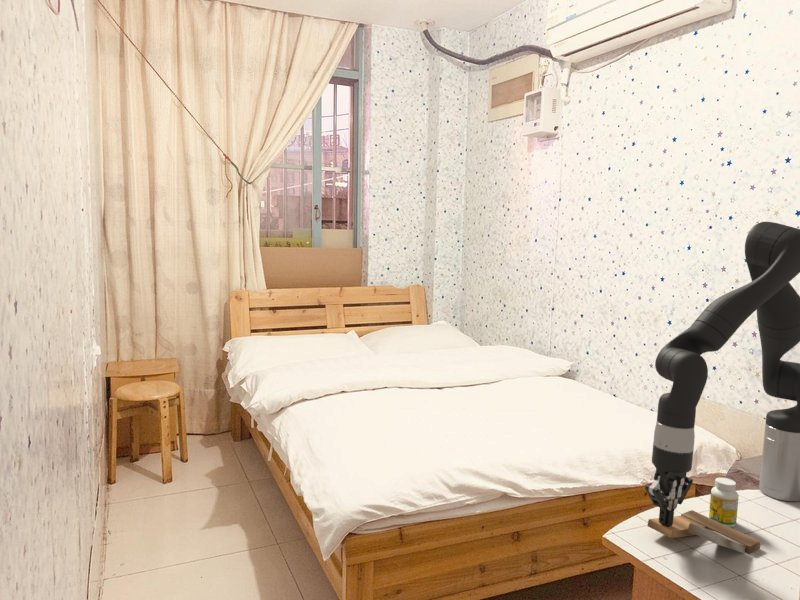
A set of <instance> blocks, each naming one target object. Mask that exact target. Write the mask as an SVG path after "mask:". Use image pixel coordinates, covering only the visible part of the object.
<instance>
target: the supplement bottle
mask: <svg viewBox="0 0 800 600" xmlns="http://www.w3.org/2000/svg"><path fill="white" fill-rule="evenodd" d="M736 488H737V482H736V481H734V480H733V479H731V478H728V477H716V478H715V480H714V486H713V487H712V488H711V491H710V500H709V509H708V510H709V512H708V518H710V519H713V520H715V521H717V522H719V523H721V524H724V525H726V526H728V527H730V528H734V527H735V526H737V525H736V524H737V517H738V507H739V494H738V492H737V491H736Z"/></svg>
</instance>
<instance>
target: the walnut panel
mask: <svg viewBox="0 0 800 600" xmlns="http://www.w3.org/2000/svg"><path fill="white" fill-rule="evenodd" d="M680 516H684V517H687V518H689V519H691V520H693V521H695V522H697V523H699V524H701V525H703V526H706V529H709V530H712V531H715V532H718V533H720V534H723V535H725V536H727V537H729V538H731V539H733V540H735V541H737V542H739V543H742V544H744V545H746V548H745V551H744V553H746V554H748V555H750V554H752V553H754V552H755V551H758V550H760V549H761V540H759V539H756V538H755V537H752V536H750V535H747V534H745V533H743V532H741V531H738V530H736V529H734V528H733V527H728V526H726V525H724V524H721V523H719V522H717V521H715V520H713V519H710V518H709V516H706V515H705V514H701V513H699V512H697V511H695V510H692V509H691V510H688V511H685V512H684V513H681V514H680Z"/></svg>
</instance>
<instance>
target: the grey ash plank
mask: <svg viewBox="0 0 800 600" xmlns="http://www.w3.org/2000/svg"><path fill="white" fill-rule="evenodd" d="M688 531H690V532H692V533H694V534H696V535H695V536H698V537H700V538H703V539H705V540H706V541H709V542H711V543H713V544H715V545H718V546H722V547H724V548H728V549H731V550H734V551H736V552H740V553H742V554H744V553H745V552H744V551H745V548H746V545H744V544H742V543H739V542H737V541H735V540H733V539H731V538H729V537H727V536H725V535H723V534H720V533H718V532H715V531H712V530H709V529H706V528H703V527H700V526H697V525H695V524H692V523H690V524H689V527H688Z"/></svg>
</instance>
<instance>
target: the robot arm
mask: <svg viewBox="0 0 800 600" xmlns="http://www.w3.org/2000/svg"><path fill="white" fill-rule="evenodd" d="M744 257H745V261H746V265H747V269H748V272H749V275H750V279H751V281H750V282H749V283H747V284H745V285H743V286H740V287H738V288H736V289H732V290H731V291H728V292H727V293H725V294H722V295H721V296H719V297H718V298H716V299H714V300H713V301H711V302H710V304H708V305H707V306H706V307H705V308H704V310H703V311H702V312H701V313H700V314H699V316H698V317H697V318H696V319H695V320H694V322H693V323H692V324H691V325H690V327H688V328H686V329H685V330H684V331H682V332H680V333H679V334H678V335H677V336H676V337H674V338H672V339H671V340H670V341H669V342H668V343H667V344H665V345H664V346H662V348H661V350H660V351H659V352H658V354H657V355H656V357H655V363H654V364H655V365H654V367H655V371H656V372H657V374H658V375H659V376H660V377H662V378H664V379H665V380H668V381H670V382H672V386H671V389H670V392H665V393H662V394H661V395H660V397H659V398H658V405H657V416H656V422H655V428H654V431H653V432H654V433H653V443H652V454H651V463H652V465H653V466H654V467H655V473H654V476H653V480H654V481H653V482H652V483H651V484H646V485H645V491H646V493H647V495H648V497H649V500H650V501H651V502H652V504H653V505H654V506H656V507H658V508H659V515H658V518H659V523H661V524H663V525H665V526H666V527H669V526H672V525H673V518H674V516H675V510H676V509H677V507H678V505H682V504H683V503H684V500H685V498H686V496H687V494H688V492H689V491H690V488H691V487H692V484H693V483H694V482H693V481H694V480H693V478H690V477H689V476H687V473H689V472H690V471H692V468H693V458H694V448H695V447H694V446H695V438H696V436H695V423H696V413H697V411H696V410H697V406H698V404H699V402H700V399H701V397H702V394H703V392H704V389H705V387H706V384H707V381H708V378H709V377H708V376H709V370H708V365H707V362H706V360H705V358H704V357H703V356H702V354H705V353H709V352H717V351H719V350H721V348H723V346H725V344H726V343H727V342H728V341H729V340H730V339H731V337H732V336H733V335H734V334H735V333H736V331H737V330H738V329H739V328H740V327H741V325H743V324H744V322H745V321H747V319H748V318H749V317H751V315H753V314H754V313H755V312H756V319H757V327H758V332H759V339H760V345H761V362H762V363H761V366H762V367H761V368H762V369H761V370H762V371H761V374H762V375H761V376H762V378H761V379H762V387H763V390H764V393H765V394H767V395H768V396H769V397H773V398H777V399H782V400H788V401H793V402H796V405H794V406H792V407H788V408H783V409H782V408H781V409H780V408H779V409H774V410H773V409H772V410H770V411H768V412H767V413H766V416H765V425H764V434H763V436H764V437H763V445H762V446H763V447H762V455H761V457H762V458H761V465H760V476H759V484H758V485H759V486H758V490H759V491H760V492H761V493H762V494H764V495H766V496H768V497H770V498H773V499H777V500H779V501H785V502H800V363H799V362H795V361H788V360H787V361H785V360H782V358H783V357H784V355H786V354H787V353H788V352H789V351H790V350H792V349H794V347H795V346H797V345H798V344H799V343H800V295H799V292H797V290H796V289H795V288H794V287H793V285H792V284H791V283H790V282H791V281H792V280H793V279H795V278H796V276H798V275H799V274H800V228H797V227H793V226H791V225H785V224H781V223H778V222H773V221H761V222H758V223H756V224H754V225H753V226H752V227H751V228H750V230H749V231H748V233H747V236H746V238H745V242H744Z"/></svg>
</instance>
